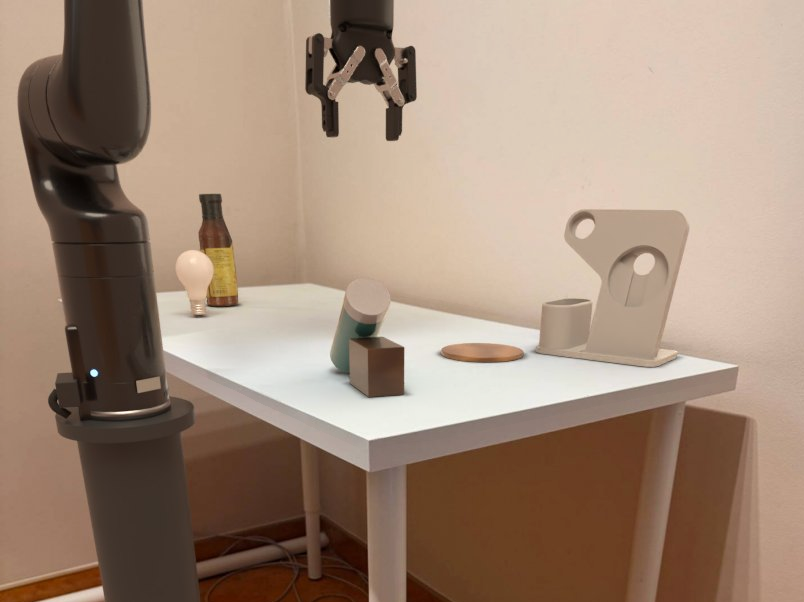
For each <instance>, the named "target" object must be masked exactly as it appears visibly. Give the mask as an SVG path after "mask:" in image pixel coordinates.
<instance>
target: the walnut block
mask: <svg viewBox="0 0 804 602" xmlns="http://www.w3.org/2000/svg"><path fill="white" fill-rule="evenodd" d="M349 364H350V373H349V384H350V385H352V387H354V388H356V389H357V390H358V391H359V392H361V393H362V394H364V395H365V396H366V397H368V398H376V397H378V398H379V397H390V396H404V395H405V346H403V345H401V344H399V343H397V342H395V341H393V340H390V339H388V338H387V337H385V336H378V337H366V338H349Z"/></svg>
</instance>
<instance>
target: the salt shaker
mask: <svg viewBox="0 0 804 602" xmlns="http://www.w3.org/2000/svg"><path fill="white" fill-rule="evenodd" d="M391 301H392V300H391V295H390V292H389V291H388V289H387V288H386V286H384V284H382V283H381V282H380V281H378V280H375V279H373V278H369V277H368V278H367V277H360V278H357V279H354V280H352V281H351V282H350V283H349V284H348V285H347V287H346V289H345V293H344V297H343V303H342V306H341V309H340V313H339V317H338V321H337V325H336V327H335V331H334V336H333V339H332V343H331V348H330V351H329V357H330V361H331V363H332V364H333V366H334V367H335V368H336V369H338V370H339V371H341V372H343V373H346V374H350V364H349V338H366V337H380V336H379V335H380V333H381V330H382V327H383V324H384V322H385V318H386V316H387V314H388V312H389V309H390V306H391Z"/></svg>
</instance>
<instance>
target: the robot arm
mask: <svg viewBox="0 0 804 602" xmlns="http://www.w3.org/2000/svg"><path fill="white" fill-rule="evenodd" d="M394 8H395V0H329V11H330V12H329V14H330V15H329V16H330V17H329V21H330V29H331V35H330V37H325V36H324V35H323V34H322V33H320V32H318V33H314V34H312V35H310V36H308V37H306V39H305V78H304V79H305V81H304V82H305V83H304V85H305V87H304V89H305V92H306V94H307V95H310V96H314V97H316V98H317V99H318V100H319V101H320V104H321V106H320V107H321V128H322V131H323V132H325V136H326V138H332V139H333V138H338V137H339V135H340V121H339V119H340V116H339V115H340V113H339V112H340V111H339V101H336V99H337V97H338V96H339V94H340V92H341V91H342V89H343V87H344V86H345V85H347V83H349V84H356V83H360V84H363V85H369V86H371V85H373V86H374V87H375V89H376V91H377V93H378V92H379V93H380V94H381V97H382V99H383V100H384V102H385V104H386V106H387V107H386V108H385V140H386V141H387V142H398V140H399V138H400V136H402V134H403V110H404V107H405V105H407V104H410V103H413V102H416V100H417V98H418V95H417V94H418V93H417V88H418V87H417V57H416V54H417V53H416V48H415V47H414V46H413V45H408V46H405V47H395V45H394V42H393V31H394V21H395V20H394V17H395V16H394V15H395V12H394ZM144 16H145V15H144V0H63V43H62V53H60V54H55V55H49V56H45V57H42V58H39V59H37V60H35V61H34V62H32V63H31V64H30V65H28V66H27V67H26V69H25V70H24V71H23V74H21V77H20V78H19V84H18V87H17V97H16V98H17V100H16V101H17V103H16V105H17V115H18V122H19V123H18V124H19V130H20V133H21V139H22V143H23V144H22V145H23V148H24V149H23V150H24V153H25V158H26V163H27V167H28V171H29V176H30V181H31V186H32V191H33V194H34V197H35V202H36V204H37V207H38V209H39V211H40V213H41V214H42V216H43V218H44V220H45V221H46V224H47V227H48V229H49V235H50V241H51V247H52V251H53V258H54V264H55V269H56V275H57V281H58V287H59V293H60V299H61V305H62V311H63V317H64V323H65V324H64V325H65V326H64V333H65V339H66V344H67V345H66V347H67V351H68V357H69V362H70V368H71V369H70V370H71V372H57V374H56V378H55V382H54V385H55V388H53V390H52V391H51V393H49V395H48V398H47V402H48V407H49V408H50V409H51V410H52V412H54V413H55V414H56V413H57V414H59V415H60V416H62V417H64V418H65V419H67V418H68V417H69V416H70V414H71V412H70V411H69V410H67V409H65V408H67V407H78V410H79V416H80V420H82V421H84V420H98V421H129V420H138V419H144V418H150V417H154V416H158V415H160V414H163V413H165V412H167V411H169V410H170V409H171V403H170V397H169V396H170V395H169V394H170V391H169V386H168V378H167V371H166V362H165V354H164V346H163V337H162V327H161V321H160V312H159V303H158V295H157V287H156V280H155V279H156V278H155V271H154V263H153V262H154V261H153V255H152V247H151V241H150V240H151V238H150V237H151V236H150V230H149V229H150V228H149V223H148V218H147V215H146V214H145V212H144V211H143V210H142V209H141V208H139V207H138V206H137V205H135V204H134V203H133V202H132V201H131V200H130V199H129V198H128V196H127V195H126V194H125V192H124V190H123V188H122V185H121V180H120V176H119V171H118V170H119V169H118V165H125V164H126V163H127V164H128V163H130V162H132V161H133V160H135V159H136V158H137V157H138V156H139V155H140V154H141V153H142V151H143V149H144V147H145V146H146V144H147V141H148V138H149V135H150V132H151V131H150V130H151V124H152V96H151V85H150V83H151V82H150V74H149V73H150V71H149V62H148V61H149V60H148V50H147V41H146V31H145V17H144ZM328 53H329V55H331V57H332V59H333V61H334V63H335V65H334V66H333V68H332V69H331V71H330V72H329V74H328V76H327V77H326V82H325V83H324V74H325V73H324V72H325V71H324V69H325V58H326V57H327V56H328ZM393 61H394V65H395V67H396V68H397V77H396V76H395V74H394V72H393V70H392V68H391V64H392V62H393Z"/></svg>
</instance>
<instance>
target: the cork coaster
mask: <svg viewBox="0 0 804 602" xmlns="http://www.w3.org/2000/svg"><path fill="white" fill-rule="evenodd" d="M440 351H441V352H440V353H441V355H442V356H443V357H445V358H447V359H451V360H456V361H461V362H472V363H501V362H502V363H503V362H510V361H516V360H520V359H521V358H523V357H524V350H523V349H522V348H521V347H517V346H514V345H508V344H501V343H488V342H467V343H466V342H463V343H455V344H449V345H446V346H443V347H441V350H440Z"/></svg>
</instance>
